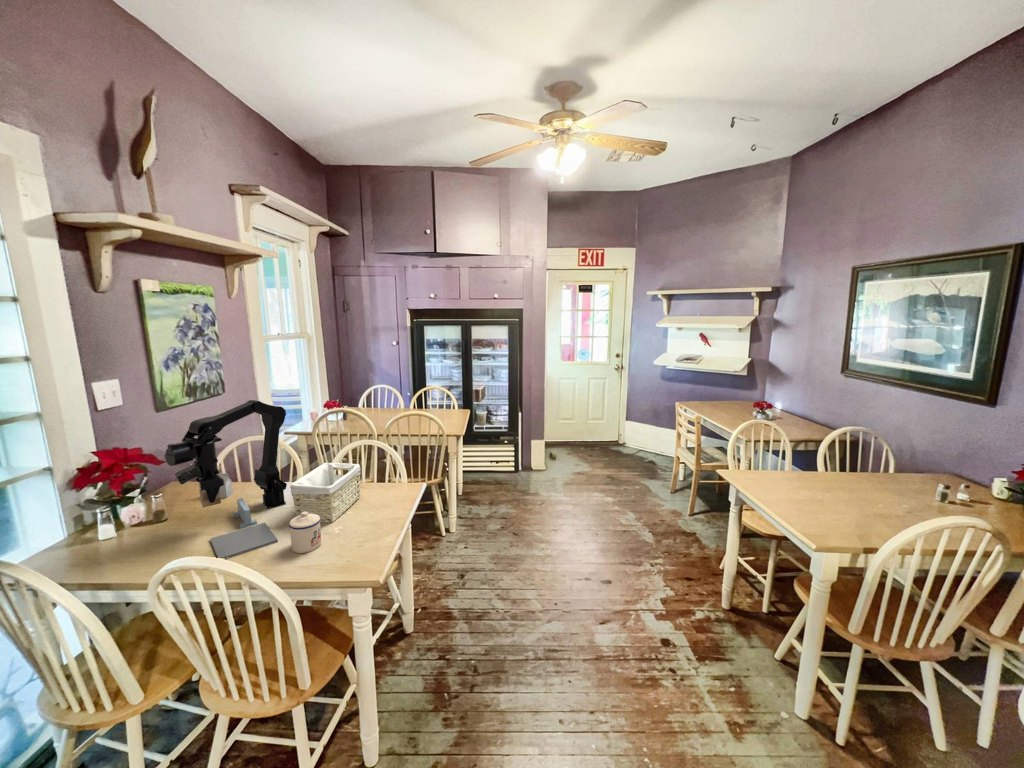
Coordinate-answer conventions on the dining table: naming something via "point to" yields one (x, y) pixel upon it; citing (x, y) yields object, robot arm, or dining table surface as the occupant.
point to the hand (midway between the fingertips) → (210, 500)
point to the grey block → (226, 486)
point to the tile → (243, 540)
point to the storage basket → (327, 491)
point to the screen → (244, 514)
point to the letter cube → (205, 500)
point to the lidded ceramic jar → (305, 532)
